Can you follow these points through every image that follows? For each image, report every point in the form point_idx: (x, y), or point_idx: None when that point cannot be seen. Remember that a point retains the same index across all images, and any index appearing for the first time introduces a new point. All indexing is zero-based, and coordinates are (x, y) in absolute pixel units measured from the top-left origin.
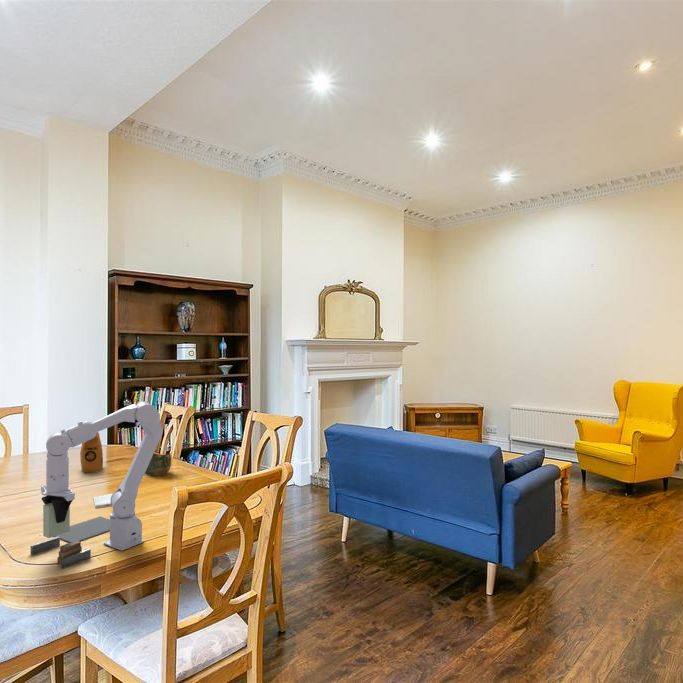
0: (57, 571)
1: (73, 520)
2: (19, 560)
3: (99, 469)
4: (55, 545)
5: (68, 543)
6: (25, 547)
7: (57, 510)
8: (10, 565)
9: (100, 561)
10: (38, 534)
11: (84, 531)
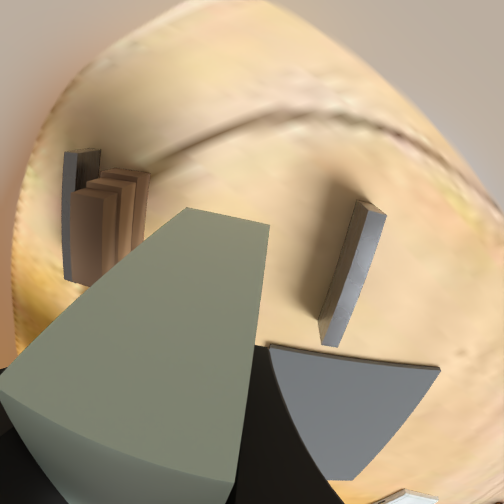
0: (88, 123)
1: (419, 446)
2: (360, 129)
3: None
4: (323, 306)
5: (101, 247)
6: (447, 253)
7: (1, 369)
8: (349, 74)
9: (41, 253)
10: (470, 353)
11: (314, 422)
